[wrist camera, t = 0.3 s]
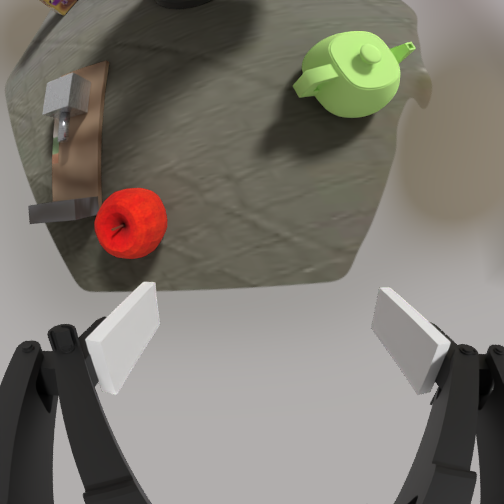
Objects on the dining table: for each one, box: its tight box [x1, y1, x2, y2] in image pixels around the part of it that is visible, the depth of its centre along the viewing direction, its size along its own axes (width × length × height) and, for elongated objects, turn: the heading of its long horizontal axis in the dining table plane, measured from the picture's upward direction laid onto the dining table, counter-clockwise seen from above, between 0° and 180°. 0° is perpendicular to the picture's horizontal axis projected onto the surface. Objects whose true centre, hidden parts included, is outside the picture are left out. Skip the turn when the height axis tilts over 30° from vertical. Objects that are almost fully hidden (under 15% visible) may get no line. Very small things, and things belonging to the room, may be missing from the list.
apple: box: [94, 188, 167, 259], centre depth 36 cm, size 10×10×12 cm
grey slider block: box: [43, 73, 91, 142], centre depth 33 cm, size 11×7×6 cm, turn 0°
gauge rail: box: [29, 60, 109, 224], centre depth 34 cm, size 28×11×8 cm, turn 0°
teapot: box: [293, 31, 416, 118], centre depth 30 cm, size 20×13×13 cm
